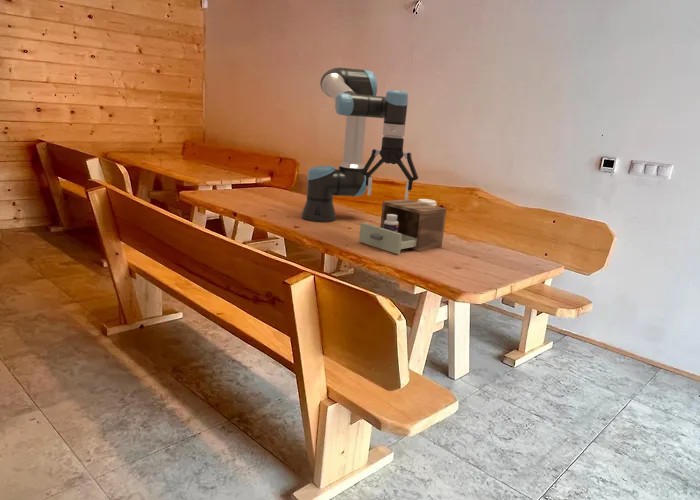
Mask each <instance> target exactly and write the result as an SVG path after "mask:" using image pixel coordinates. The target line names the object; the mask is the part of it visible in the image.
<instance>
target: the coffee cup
mask: <svg viewBox="0 0 700 500" xmlns="http://www.w3.org/2000/svg"><path fill="white" fill-rule="evenodd" d="M417 202H421V203H425V204H429V205H434V206H438V204H437V201H436V200H434V199H430V198H429V199H428V198H419V199H418V200H417Z"/></svg>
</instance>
